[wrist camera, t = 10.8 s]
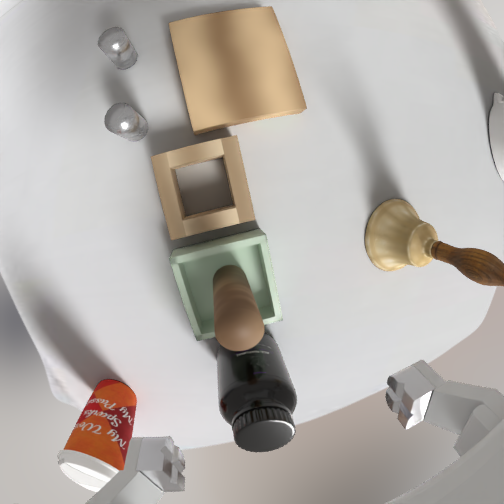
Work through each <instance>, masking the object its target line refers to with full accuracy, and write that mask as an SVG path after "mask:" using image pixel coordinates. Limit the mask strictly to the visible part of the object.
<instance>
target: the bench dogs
mask: <svg viewBox="0 0 504 504" xmlns="http://www.w3.org/2000/svg"><path fill="white" fill-rule="evenodd" d="M98 46H99V47H100V48H101V50H102V51H103V52H104V53H105V54H106V55H107V57H108V58H109V59H110V60H111V61H112V62H113V64H114V65H115V66H116V67H117V68H118V69H121V70H124V69H128V68H130V67H131V66H133V65H134V64H135V62H136V61H137V58H138V55H137V53H136V51H135V49H134V48H133V46H132V44H131V42H130V41H129V39H128V37H127V36H126V34H125V32H124V31H123V29H122V28H119V27H113V28H110V29H108V30H106V31H105V32H104V33H103V34H102V35H101V36H100V38H99V40H98ZM105 126H106V128H107V129H108V130H109V131H111V132H113V133H115V134H117V135H119V136H121V137H123V138H125V139H128V140H130V141H139V140H141V139H142V138H144V137H145V135H146V134H147V131H148V123H147V121H146V120H145V119H144V118H143V117H142V116H141V115H139V114H138V113H137V112H136V111H135V110H134V109H133V108H132V107H131V106H130V105H128V104H126V103H118V104H115V105H113V106H112V107H111V108H110V109H109V110H108V111H107V113H106V115H105Z"/></svg>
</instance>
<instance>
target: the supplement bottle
mask: <svg viewBox="0 0 504 504" xmlns="http://www.w3.org/2000/svg"><path fill="white" fill-rule="evenodd" d="M217 373H218V398H219V409H220V413H221V415H222V417H223V418H224V419H225V421H226V422H227V423H229V424H230V425H231V426H232V430H233V434H234V440H235V442H236V444H237V445H238V446H239V447H241V448H242V449H245V450H246V451H251V452H267V451H272V450H275V449H278V448H280V447H283V446H284V445H286V444H287V443H288V442H290V441H291V439H293V436H294V435H295V425H294V422H293V417H292V413H293V412H294V410H295V407H296V404H297V395H296V392H295V389H294V386H293V384H292V381H291V378H290V376H289V373H288V371H287V368H286V365H285V363H284V360H283V357H282V355H281V352H280V350H279V347H278V345H277V343H276V342H275V340H274V339H273V338H272V337H271V336H270V335H268V334H266V333H264V335H263V337H262V339H261V340H260V342H259V343H258V344H257V345H255V346H254V347H252V348H250V349H248V350H244V351H233V350H229V349H227V348H225V347H223V346H222V345H220V347H219V349H218V354H217Z"/></svg>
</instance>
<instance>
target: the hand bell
mask: <svg viewBox="0 0 504 504" xmlns="http://www.w3.org/2000/svg"><path fill="white" fill-rule="evenodd" d="M365 245H366V251H367V254H368V256H369V258H370V260H371V261H372V263H373V264H374V265H375V266H376V267H378V268H379V269H381V270H384V271H395V270H398V269H401V268H403V267H404V266H406V265H413V266H416V267H423V266H425V265H427V264H428V263H430V262H431V260H432V259H433V258H434V259H436V260H440V261H443V262H446V263H449V264H452V265H453V266H455V267H456V268H457V269H458V270H459V271H460V272H461V273H462V274H463V275H465V276H466V277H468V278H469V279H471V280H472V281H475V282H477V283H479V284H482V285H488V286H504V263H503V262H502V261H501V260H499V259H498V258H497V257H496V256H495V255H493V254H491V253H489V252H487V251H484V250H481V249H476V248H456V247H453V246H450V245H448V244H445V243H443V242H441V241H438V237H437V233H436V231H435V229H434V228H433V226H432V225H430V224H428V223H426V222H424V221H422V220H420V219H419V216H418V214H417V212H416V211H415V209H414V208H413V207H412V206H411V205H410V204H409V203H407V202H406V201H404V200H401V199H390V200H388V201H385V202H384V203H382V204H381V205H380V206H378V207H377V208H376V210H375V211H374V212H373V214H372V215H371V217H370V219H369V222H368V224H367V228H366V235H365Z"/></svg>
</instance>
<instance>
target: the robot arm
mask: <svg viewBox="0 0 504 504" xmlns="http://www.w3.org/2000/svg"><path fill="white" fill-rule="evenodd" d="M489 135H490V143H491V149H492V154H493V158H494V161H495V165H496V168H497V170H498V173H499V175H500V177H501V178H502V180H503V181H504V96H503V95H501V94H500V93H494V104H493V107H492V109H491V112H490V116H489ZM387 384H388V385H389V388H388V389H387V391H386V401H387V404H388V406H389V408H390V409H391V411H392V412H395V413H398V420H399V422H400V423H401V424H402V426H403V427H404V429H408V428H410V427H412V426H413V425H415V424H417V423H419V422H421V421H422V420H423V421H425V422H427V423H430V424H432V425H435V426H437V427H440V428H442V429H445V430H447V431H450V432H453V433H456V434H458V435H460V436H459V437H458V439H457V441H456V442H455V444H454V449H455V450H456V451H457V453H458V454H459V455H460V458H458V459H457V460H456V461H454V462H453V463H452V464H450V465H449V466H448V467H446V468H445V469H443V470H442V471H440V472H439V473H437V474H436V475H434V476H433V477H431V478H430V479H428V480H427V481H425V482H423V483H422V484H420V485H418V486H417V487H415V488H413V489H412V490H410V491H408V492H406V493H404V494H403V495H401V496H399V497H397V498H395V499H393V500H391V501H389V502H387V503H385V504H504V396H503V395H502V394H501V393H500V392H499V391H498V390H497V389H491V388H486V387H480V386H475V385H470V384H465V383H459V382H455V381H450V380H449V381H447V382H446V381H445V380H444V379H443V378H442V377H441V376H440V375H439V374H438V373H437V372H436V371H434V370H433V369H432V368H431V367H430V366H429V365H428V364H427V363H426V362H425V361H423V360H420V361H418V362H416V363H414V364H413V365H411V366H408V367H406V368H404V369H403V370H401V371H399V372H397V373H395V374H393V375H391V376H389V378H388V381H387ZM184 469H185V460H184V456H183V453H182V451H181V450H180V448H179V447H177V446H175V445H174V441H173V439H172V438H171V437H170V436H168V437H134V438H132V439H131V440H130V442H129V447H128V451H127V456H126V460H125V465H124V470H120V471H119V472H118V473H117V474H116V475H115V476H114V477H113V478H112V479H111V480H110V481H109V482H108V483H107V484H106V485H105V486H103V487H102V488H101V489H100V490H99V491H98V492H97V493H96V494H95V495H94V496H93V497H92V498H91V499H90V500H89V501H87V502H86V504H157V503H158V501H159V500H160V498H161V497H162V495H163V494H164V492H176V491H184V489H185V488H184V487H185V477H184V476H183V475H182V474H181V472H182V471H183V470H184Z"/></svg>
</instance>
